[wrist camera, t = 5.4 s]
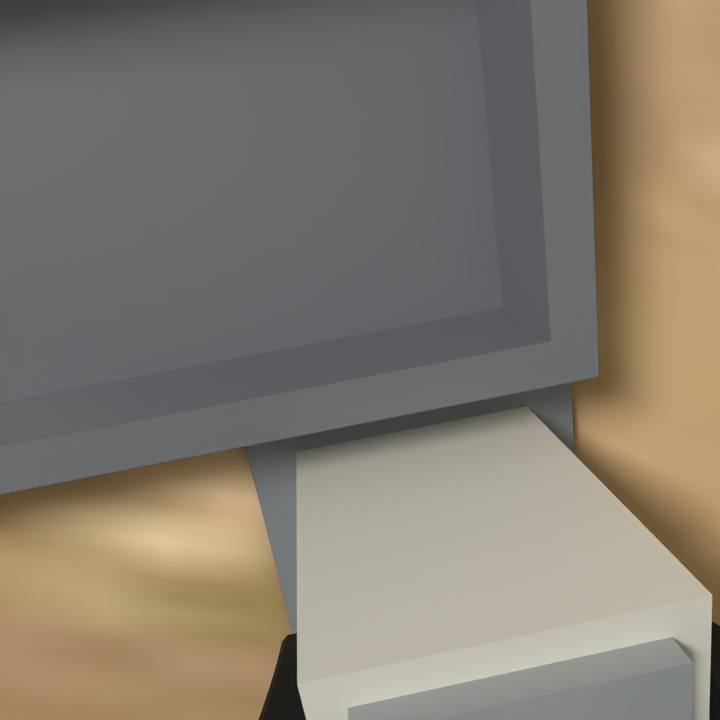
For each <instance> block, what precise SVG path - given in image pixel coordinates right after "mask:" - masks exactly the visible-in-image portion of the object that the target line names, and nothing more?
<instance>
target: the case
mask: <svg viewBox="0 0 720 720" xmlns="http://www.w3.org/2000/svg"><path fill="white" fill-rule="evenodd" d="M596 377H599V361H598V331H597V300H596V269H595V238H594V207H593V176H592V145H591V114H590V83H589V52H588V21H587V0H0V494H5V493H10V492H15V491H20V490H25V489H31V488H36V487H41V486H46V485H51V484H56V483H61V482H66V481H71V480H76V479H81V478H87V477H92V476H97V475H102V474H107V473H112V472H117V471H122V470H127V469H132V468H137V467H143V466H148V465H153V464H158V463H163V462H168V461H173V460H178V459H183V458H188V457H193V456H199V455H204V454H209V453H214V452H219V451H224V450H229V449H234V448H239V447H244V446H249V445H255V444H260V443H265V442H270V441H275V440H280V439H285V438H290V437H295V436H300V435H305V434H311V433H316V432H321V431H326V430H331V429H336V428H341V427H346V426H351V425H356V424H361V423H367V422H372V421H377V420H382V419H387V418H392V417H397V416H402V415H407V414H412V413H417V412H422V411H428V410H433V409H438V408H443V407H448V406H453V405H458V404H463V403H468V402H473V401H478V400H484V399H489V398H494V397H499V396H504V395H509V394H514V393H519V392H524V391H529V390H534V389H540V388H545V387H550V386H555V385H560V384H565V383H570V382H575V381H580V380H585V379H590V378H596Z"/></svg>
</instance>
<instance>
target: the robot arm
mask: <svg viewBox="0 0 720 720" xmlns="http://www.w3.org/2000/svg"><path fill="white" fill-rule="evenodd" d="M259 720H306V717H305V713H304V709H303V705H302V701H301V697H300V694H299V690H298V686H297V633H295V634H291V635H287V636H286V637H285V639H284V640H283V641H282V644H281V649H280V653H279V657H278V661H277V664H276V668H275V672H274V675H273V678H272V681H271V685H270V688H269V691H268V694H267V697H266V700H265V703H264V706H263V709H262V712H261V714H260V717H259ZM709 720H720V626H719V625H717V624H715V623H714V622H712V627H711V666H710V705H709Z"/></svg>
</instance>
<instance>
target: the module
mask: <svg viewBox="0 0 720 720" xmlns="http://www.w3.org/2000/svg"><path fill="white" fill-rule="evenodd" d="M296 496H297V686H298V690H299V694H300V697H301V701H302V705H303V709H304V713H305V717H306V720H709V705H710V666H711V627H712V594H711V593H710V592H709V591H708V590H707V589H706V588H705V587H704V586H703V585H702V584H701V583H700V582H699V581H698V580H697V579H696V578H695V577H694V576H693V575H692V574H691V573H690V572H689V571H688V570H687V569H686V568H685V567H684V566H683V565H682V564H681V562H680V561H679V560H678V559H677V558H676V557H675V556H674V555H673V554H672V553H671V552H670V551H669V550H668V549H667V548H666V547H665V546H664V545H663V544H662V543H661V542H660V541H659V540H658V539H657V538H656V537H655V536H654V535H653V534H652V533H651V532H650V531H649V530H648V529H647V528H646V527H645V526H644V525H643V524H642V523H641V522H640V521H639V520H638V519H637V518H636V517H635V516H634V515H633V514H632V513H631V512H630V511H629V510H628V509H627V508H626V507H625V506H624V505H623V504H622V503H621V502H620V501H619V500H618V499H617V498H616V497H615V495H614V494H613V493H612V492H611V491H610V490H609V489H608V488H607V487H606V486H605V485H604V484H603V483H602V482H601V481H600V480H599V479H598V478H597V477H596V476H595V475H594V474H593V473H592V472H591V471H590V470H589V469H588V468H587V467H586V466H585V465H584V464H583V463H582V462H581V461H580V460H579V459H578V458H577V457H576V456H575V455H574V454H573V453H572V452H571V451H570V450H569V449H568V448H567V447H566V446H565V445H564V444H563V443H562V442H561V441H560V440H559V439H558V438H557V437H556V436H555V435H554V434H553V433H552V432H551V431H550V430H549V429H548V427H547V426H546V425H545V424H544V423H543V422H542V421H541V420H540V419H539V418H538V417H537V416H536V415H535V414H534V413H533V412H532V411H531V410H530V409H529V408H528V407H527V406H526V407H521V408H516V409H511V410H506V411H501V412H496V413H491V414H485V415H480V416H475V417H470V418H465V419H460V420H455V421H450V422H445V423H440V424H435V425H430V426H425V427H420V428H415V429H410V430H405V431H400V432H394V433H389V434H384V435H379V436H374V437H369V438H364V439H359V440H354V441H349V442H344V443H339V444H334V445H329V446H324V447H319V448H314V449H308V450H303V451H298V452H296Z"/></svg>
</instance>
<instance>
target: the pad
mask: <svg viewBox="0 0 720 720" xmlns="http://www.w3.org/2000/svg"><path fill="white" fill-rule="evenodd" d="M526 406H527V407H528V408H529V409H530V410H531V411H532V412H533V413H534V414H535V415H536V416H537V417H538V418H539V419H540V420H541V421H542V422H543V423H544V424H545V425H546V426H547V427H548V429H549V430H550V431H551V432H552V433H553V434H554V435H555V436H556V437H557V438H558V439H559V440H560V441H561V442H562V443H563V444H564V445H565V446H566V447H567V448H568V449H569V450H570V451H571V452H572V453H573V454H574V434H573V414H572V394H571V382H570V383H565V384H560V385H555V386H550V387H545V388H540V389H534V390H529V391H524V392H519V393H514V394H509V395H504V396H499V397H494V398H489V399H484V400H478V401H473V402H468V403H463V404H458V405H453V406H448V407H443V408H438V409H433V410H428V411H422V412H417V413H412V414H407V415H402V416H397V417H392V418H387V419H382V420H377V421H372V422H367V423H361V424H356V425H351V426H346V427H341V428H336V429H331V430H326V431H321V432H316V433H311V434H305V435H300V436H295V437H290V438H285V439H280V440H275V441H270V442H265V443H260V444H255V445H249V446H245V447H246V451H247V455H248V459H249V463H250V466H251V470H252V474H253V478H254V482H255V486H256V490H257V494H258V498H259V502H260V506H261V510H262V513H263V517H264V521H265V525H266V529H267V533H268V537H269V541H270V545H271V549H272V553H273V556H274V560H275V564H276V568H277V572H278V576H279V580H280V584H281V588H282V592H283V596H284V599H285V603H286V607H287V611H288V615H289V619H290V623H291V627H292V631H293V634H295V633H297V496H296V452H298V451H303V450H308V449H314V448H319V447H324V446H329V445H334V444H339V443H344V442H349V441H354V440H359V439H364V438H369V437H374V436H379V435H384V434H389V433H394V432H400V431H405V430H410V429H415V428H420V427H425V426H430V425H435V424H440V423H445V422H450V421H455V420H460V419H465V418H470V417H475V416H480V415H485V414H491V413H496V412H501V411H506V410H511V409H516V408H521V407H526Z"/></svg>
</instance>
